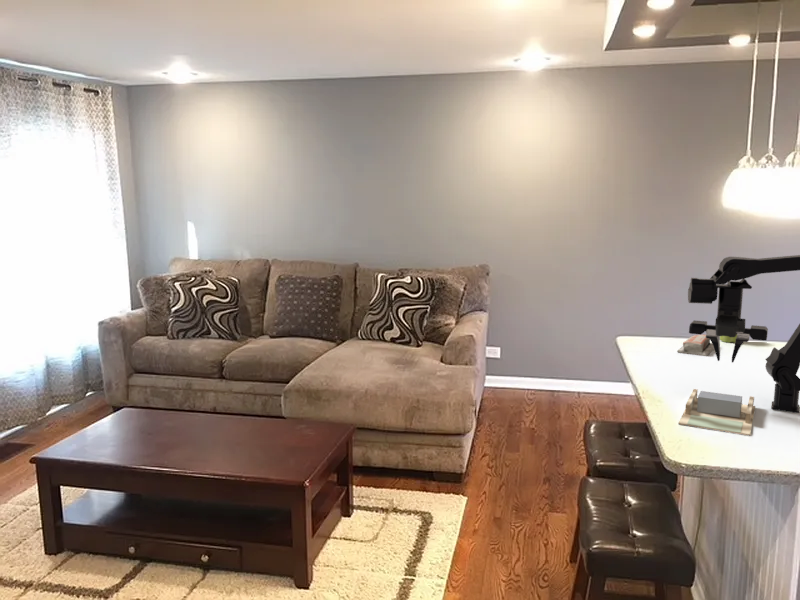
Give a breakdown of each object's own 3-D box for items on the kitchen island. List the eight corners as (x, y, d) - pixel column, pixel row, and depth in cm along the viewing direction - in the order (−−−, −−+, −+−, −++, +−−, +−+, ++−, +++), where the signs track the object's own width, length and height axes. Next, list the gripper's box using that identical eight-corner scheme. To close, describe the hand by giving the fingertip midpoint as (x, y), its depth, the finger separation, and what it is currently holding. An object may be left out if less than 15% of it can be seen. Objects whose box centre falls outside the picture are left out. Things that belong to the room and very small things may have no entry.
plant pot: (711, 341, 261) (712, 319, 259) (720, 337, 267) (722, 315, 266) (736, 345, 254) (738, 322, 253) (745, 341, 261) (747, 318, 260)
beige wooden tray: (691, 398, 191) (691, 388, 191) (755, 407, 184) (756, 397, 183) (678, 424, 171) (679, 413, 170) (749, 435, 163) (750, 424, 163)
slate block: (699, 405, 184) (700, 390, 183) (741, 411, 179) (742, 396, 178) (697, 411, 179) (698, 396, 178) (739, 417, 174) (740, 402, 173)
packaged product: (707, 344, 237) (677, 340, 243) (706, 357, 238) (676, 354, 244) (717, 334, 252) (688, 331, 258) (716, 347, 253) (688, 344, 258)
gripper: (688, 306, 180) (684, 363, 182) (768, 312, 171) (763, 372, 173) (693, 300, 189) (689, 354, 192) (769, 305, 180) (765, 363, 183)
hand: (725, 361), depth 185 cm, fingers open, 3 cm apart
